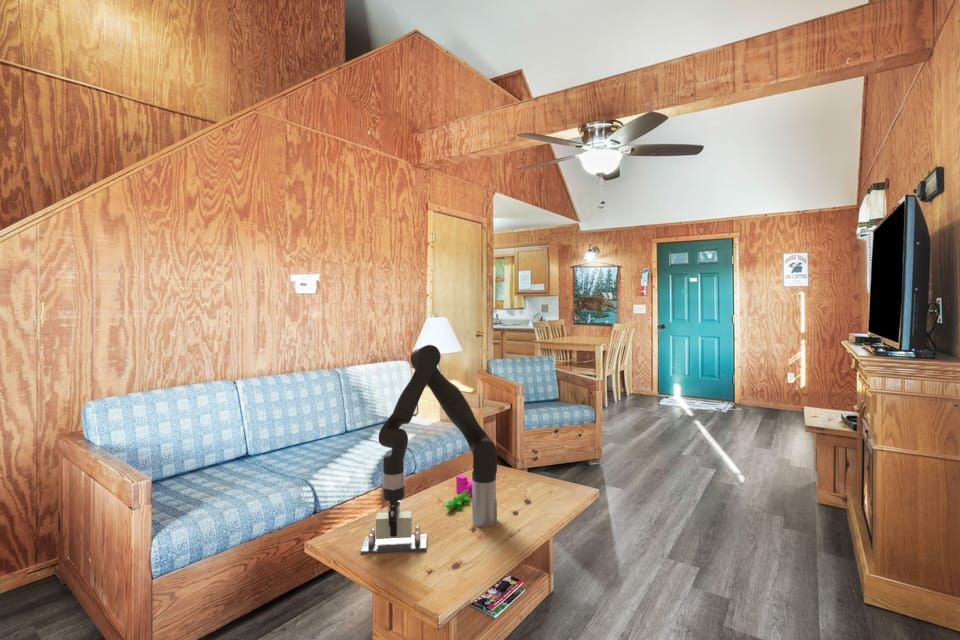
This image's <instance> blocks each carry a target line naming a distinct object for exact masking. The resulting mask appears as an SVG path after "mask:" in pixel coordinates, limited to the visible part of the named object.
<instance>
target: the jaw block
mask: <svg viewBox="0 0 960 640" xmlns="http://www.w3.org/2000/svg"><path fill="white" fill-rule="evenodd" d="M396 516H397V515H396ZM412 517H413V516H412V511H408V510H407V511H400V512H399V517H398V518H397V536H393V537H391V536H390V527H389V518H388V512H377V513H376V516H375V536H376V539H390V538H410V537H411V535H413V533H412V531H413V524H412V523H413V521H412V520H413V518H412ZM391 522H395V521H391Z"/></svg>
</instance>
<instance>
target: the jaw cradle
mask: <svg viewBox="0 0 960 640" xmlns="http://www.w3.org/2000/svg"><path fill="white" fill-rule="evenodd" d="M414 527H415V529H414V531H415V532H414V534H413V533H412V534H411V537H410V538H390V539H376V527H371V528H369V534H368V536H365V537H364V540H363V543H362V546H361V550H360V555H365V554H367V555H368V553H370V554H371V553H372V554H393V553H394V554H396V553H419V552H427V544H428V539H427V538H428V536H427V535H428V534H427V533H421V526H420V525H416V526H414ZM363 553H364V554H363ZM370 554H369V555H370Z"/></svg>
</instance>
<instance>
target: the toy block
mask: <svg viewBox="0 0 960 640" xmlns="http://www.w3.org/2000/svg"><path fill="white" fill-rule="evenodd" d="M455 483H456V485H455V486H456V493H457V495H460V494H461V492H464V491H465V490H469V492H467V495H469V494H471V495H472V477H471V478H470V479H469V480H468V476H465V475H462V474H459V475H456V481H455Z"/></svg>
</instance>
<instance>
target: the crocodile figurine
mask: <svg viewBox="0 0 960 640" xmlns="http://www.w3.org/2000/svg"><path fill="white" fill-rule="evenodd" d="M467 492H469V490H465V491H464V492H461V494H457V495H455V496H454V497H452V499H449V500H447V502H446V503H445V504H444V507H445V508H447V511H448V512H450V511H451V510H453V509H456V510H461V508H462V507H461V506H462V505H464V506H465V505H467V504H468V501H469V500H470V498H471V497H472V496H471V495H472V494H469V495H467Z"/></svg>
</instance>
